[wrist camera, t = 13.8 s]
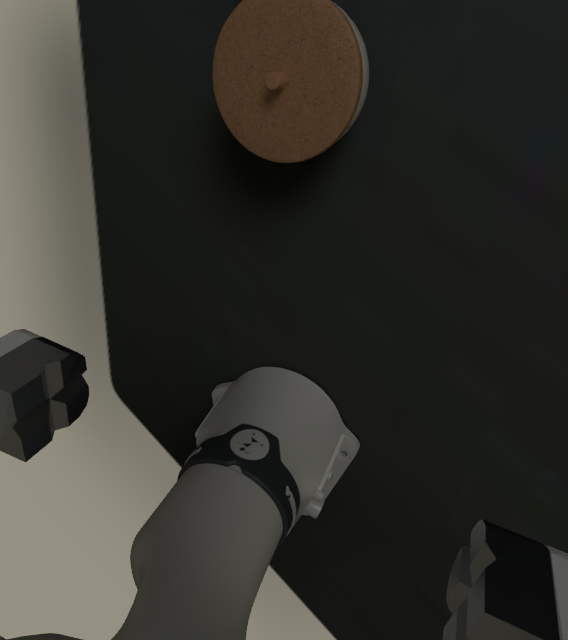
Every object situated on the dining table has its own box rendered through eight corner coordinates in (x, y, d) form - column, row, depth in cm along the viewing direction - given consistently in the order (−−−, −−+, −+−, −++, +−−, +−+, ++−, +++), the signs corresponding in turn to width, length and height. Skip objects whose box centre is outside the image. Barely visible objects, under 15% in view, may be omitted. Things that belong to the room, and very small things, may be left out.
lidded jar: (242, 117, 41) (184, 128, 33) (282, -25, 35) (222, -51, 27) (349, 169, 40) (313, 194, 32) (409, 31, 34) (384, 20, 26)
